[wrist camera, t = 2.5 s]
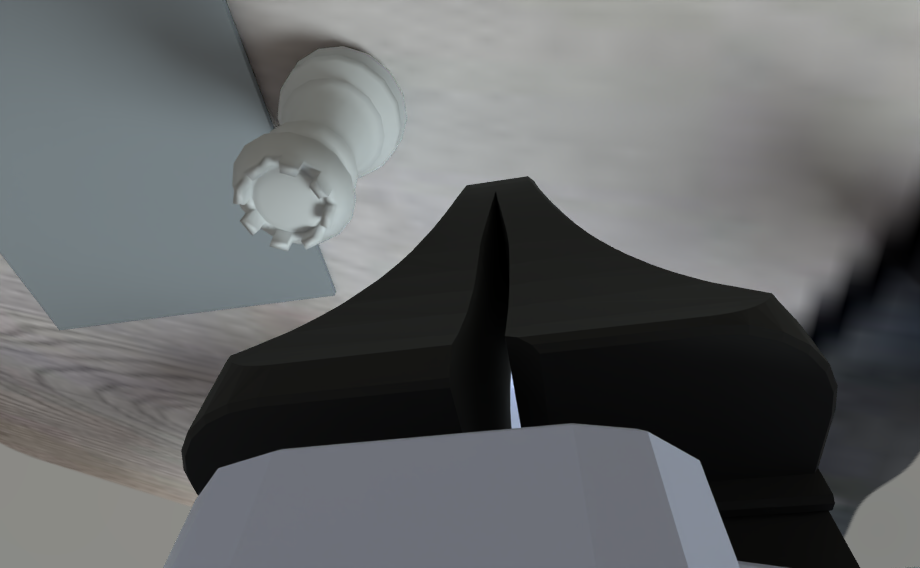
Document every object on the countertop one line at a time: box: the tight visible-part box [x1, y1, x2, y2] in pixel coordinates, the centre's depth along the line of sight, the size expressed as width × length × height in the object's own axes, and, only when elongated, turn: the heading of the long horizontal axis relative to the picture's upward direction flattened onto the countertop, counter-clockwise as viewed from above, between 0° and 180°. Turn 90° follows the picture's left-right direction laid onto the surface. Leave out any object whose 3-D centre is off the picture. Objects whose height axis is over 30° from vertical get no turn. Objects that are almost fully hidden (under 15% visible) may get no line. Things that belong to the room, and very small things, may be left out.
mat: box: [0, 0, 336, 330], centre depth 22 cm, size 16×14×1 cm
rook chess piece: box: [232, 46, 407, 251], centre depth 17 cm, size 4×4×8 cm
